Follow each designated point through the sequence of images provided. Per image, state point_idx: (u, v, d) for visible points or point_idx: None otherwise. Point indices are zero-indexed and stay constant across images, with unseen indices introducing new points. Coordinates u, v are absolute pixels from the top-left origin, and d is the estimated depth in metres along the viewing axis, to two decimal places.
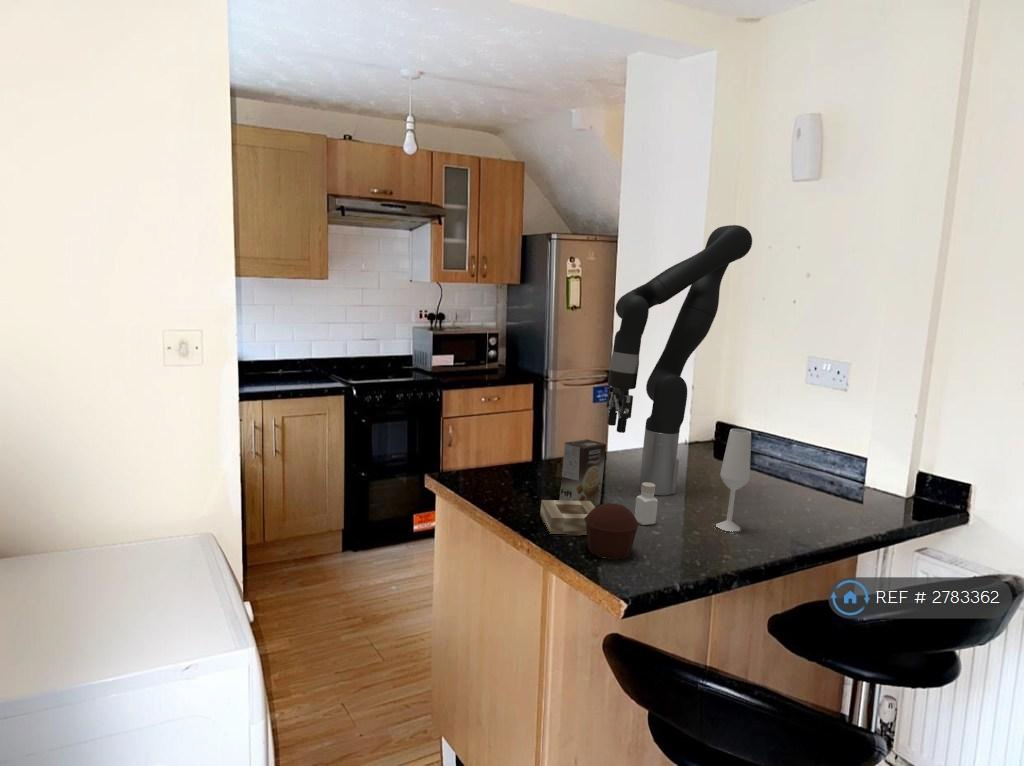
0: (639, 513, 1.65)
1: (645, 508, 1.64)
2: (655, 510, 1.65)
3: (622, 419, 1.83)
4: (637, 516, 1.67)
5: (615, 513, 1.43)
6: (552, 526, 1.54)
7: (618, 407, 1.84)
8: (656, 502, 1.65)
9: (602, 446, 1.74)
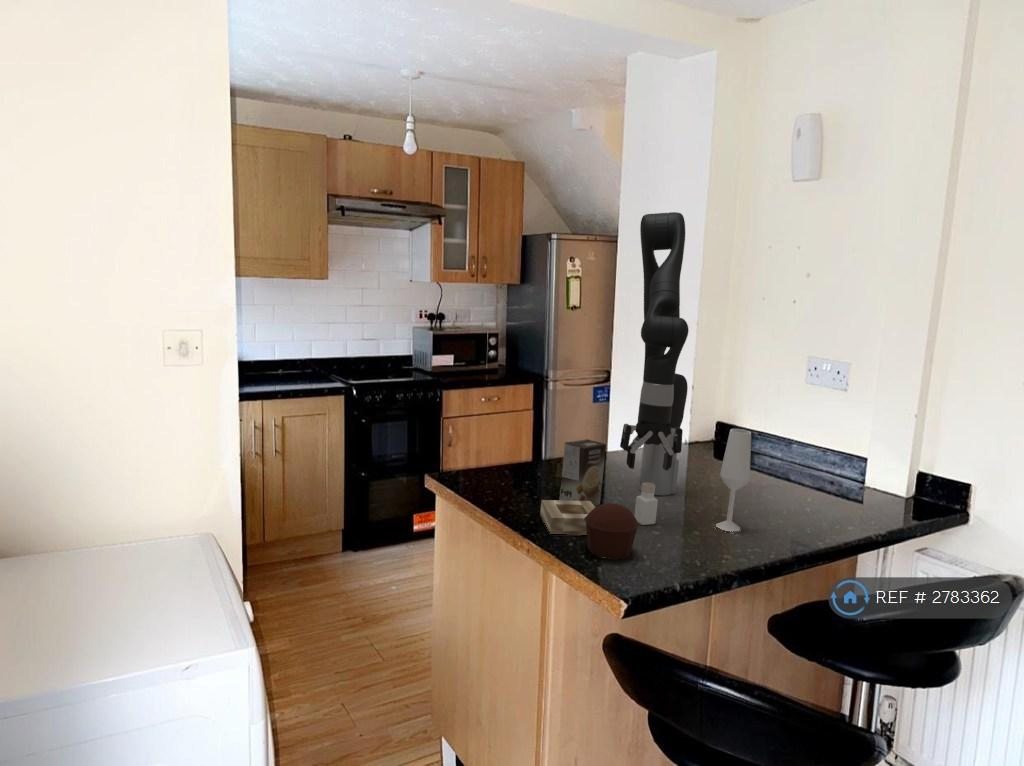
0: (639, 513, 1.65)
1: (645, 508, 1.64)
2: (655, 510, 1.65)
3: None
4: (637, 516, 1.67)
5: (615, 513, 1.43)
6: (552, 526, 1.54)
7: (669, 444, 1.63)
8: (656, 502, 1.65)
9: (602, 446, 1.74)
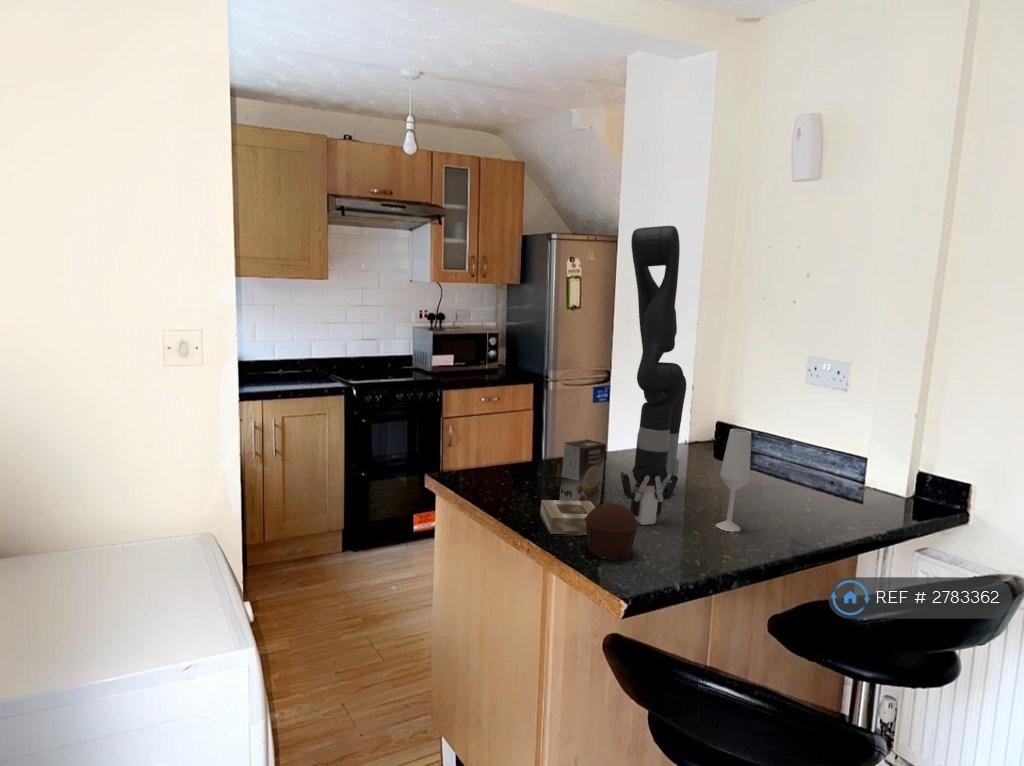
0: (639, 513, 1.65)
1: (645, 508, 1.64)
2: (655, 510, 1.65)
3: None
4: (637, 516, 1.66)
5: (615, 513, 1.43)
6: (552, 526, 1.54)
7: None
8: (656, 502, 1.65)
9: (602, 446, 1.74)
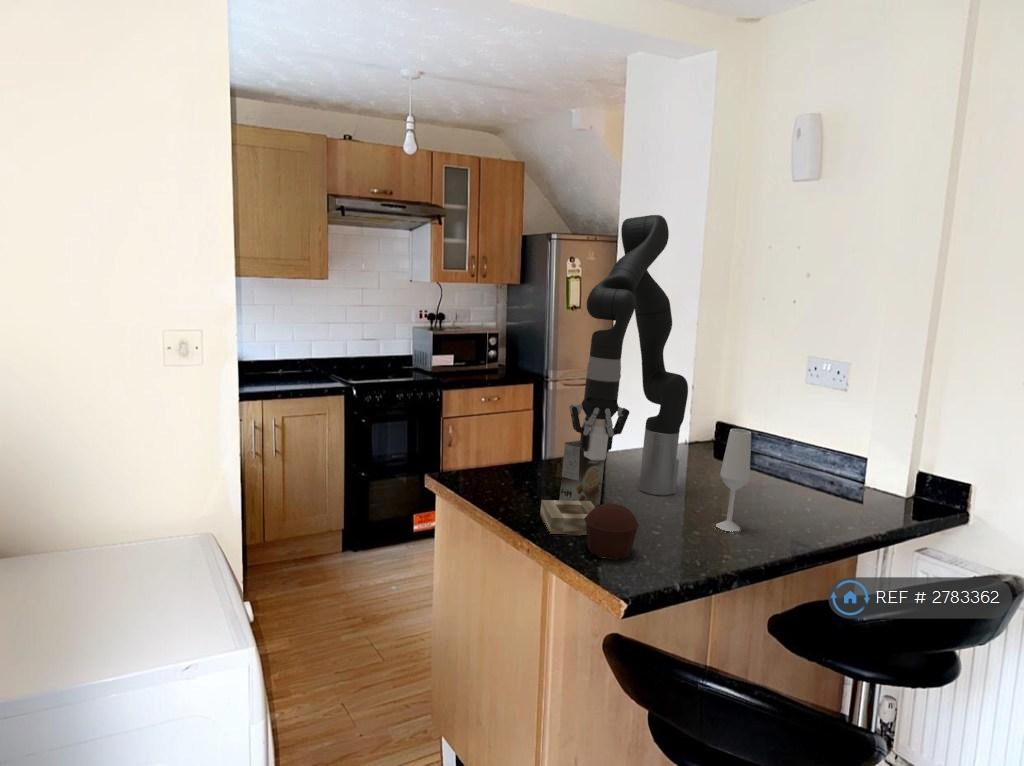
0: (589, 448, 1.58)
1: (595, 442, 1.57)
2: (606, 445, 1.58)
3: None
4: (586, 452, 1.59)
5: (615, 513, 1.43)
6: (552, 526, 1.54)
7: (612, 424, 1.58)
8: (606, 436, 1.58)
9: None
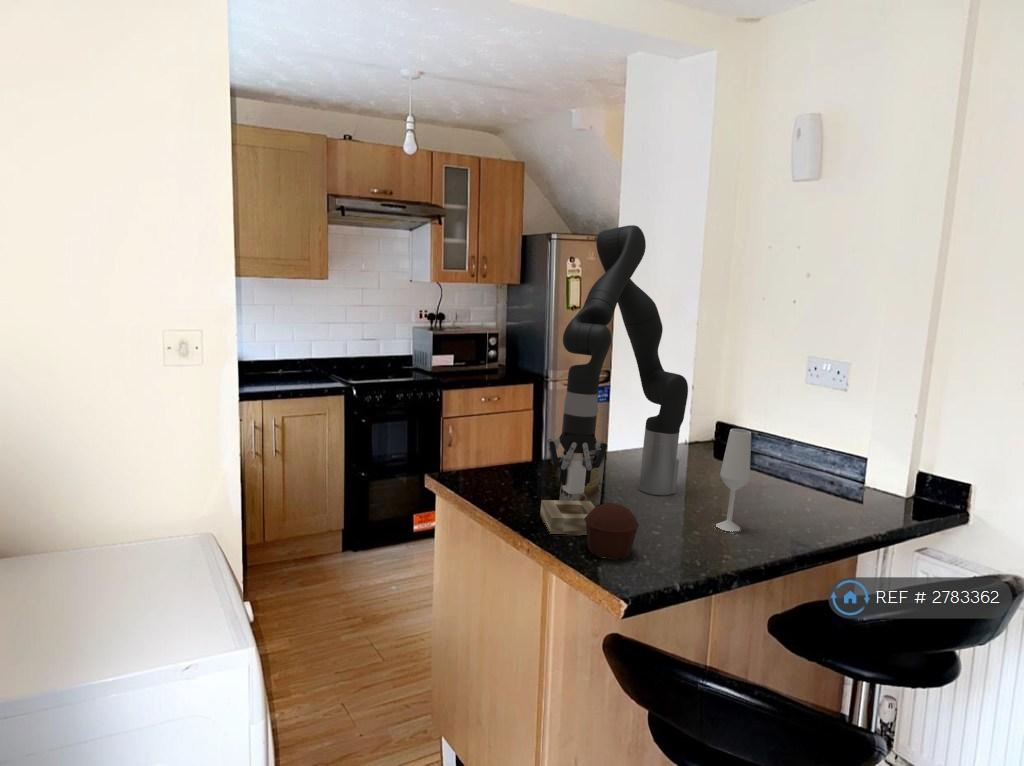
0: (567, 482, 1.58)
1: (573, 476, 1.57)
2: (584, 478, 1.58)
3: None
4: (565, 486, 1.59)
5: (615, 513, 1.43)
6: (552, 526, 1.54)
7: (589, 458, 1.58)
8: (584, 470, 1.58)
9: None
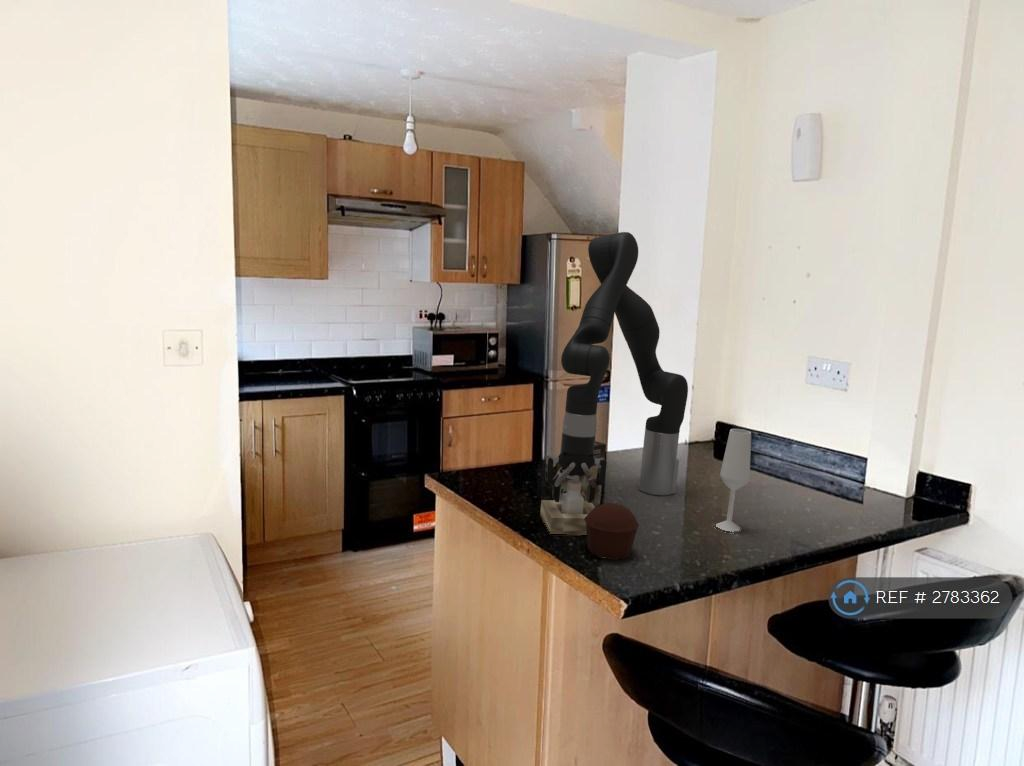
0: (565, 512, 1.59)
1: (570, 506, 1.58)
2: (581, 508, 1.59)
3: None
4: None
5: (615, 513, 1.43)
6: (552, 526, 1.54)
7: (591, 476, 1.59)
8: (582, 500, 1.59)
9: (602, 446, 1.74)
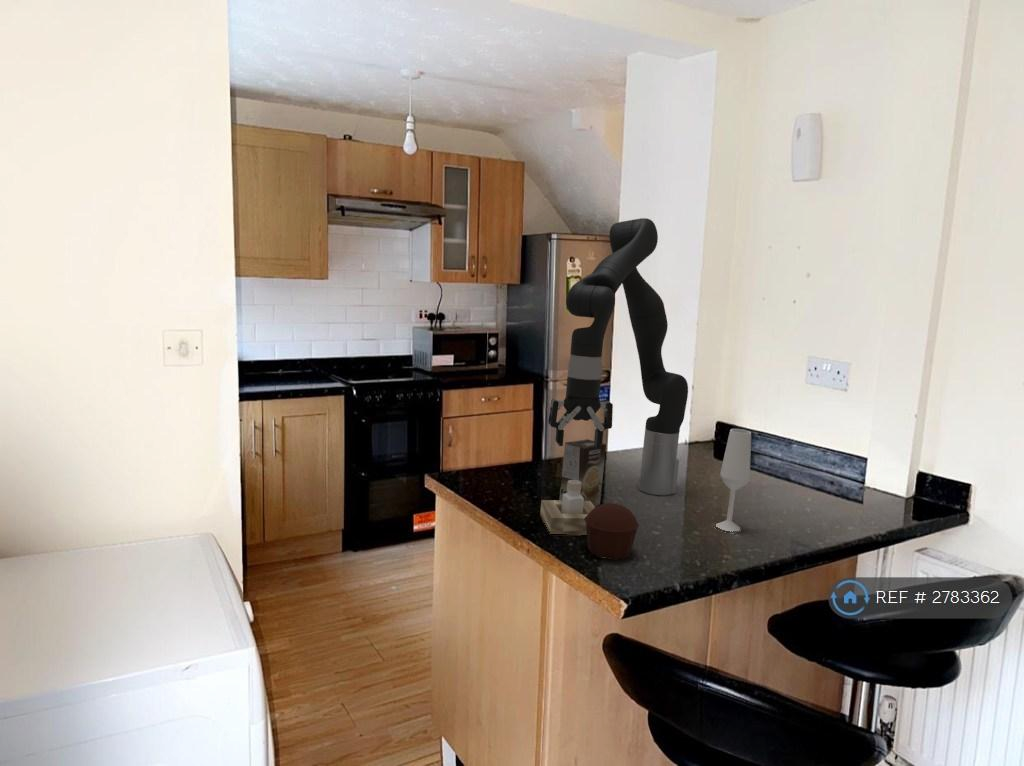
0: (565, 512, 1.59)
1: (570, 506, 1.58)
2: (581, 508, 1.59)
3: None
4: None
5: (615, 513, 1.43)
6: (552, 526, 1.54)
7: (598, 419, 1.56)
8: (582, 500, 1.59)
9: (602, 446, 1.74)
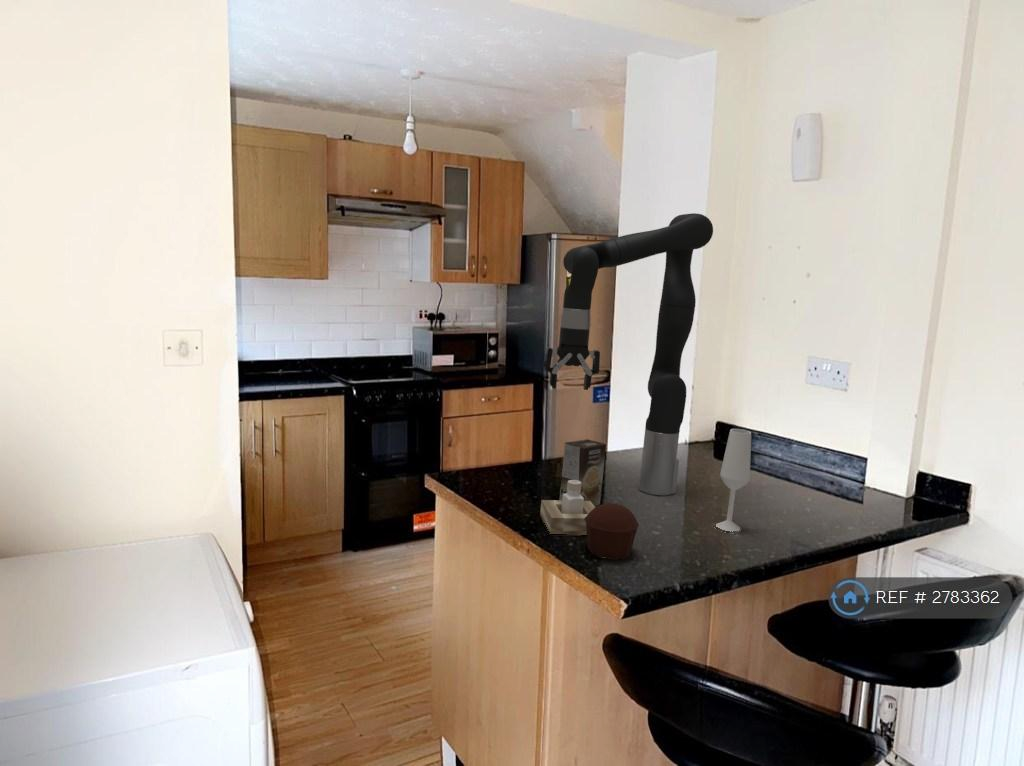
0: (565, 512, 1.59)
1: (570, 506, 1.58)
2: (581, 508, 1.59)
3: None
4: None
5: (615, 513, 1.43)
6: (552, 526, 1.54)
7: (587, 365, 1.79)
8: (582, 500, 1.59)
9: (602, 446, 1.74)
